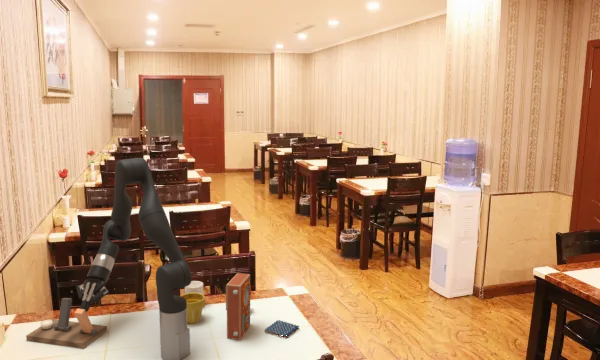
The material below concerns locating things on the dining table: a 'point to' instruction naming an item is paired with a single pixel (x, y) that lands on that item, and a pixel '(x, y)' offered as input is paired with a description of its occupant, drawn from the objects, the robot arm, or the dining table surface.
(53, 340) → the switch board
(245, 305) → the control panel
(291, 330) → the woven mat
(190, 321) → the plant pot
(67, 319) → the long grey beam
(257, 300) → the dining table surface
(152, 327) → the dining table surface
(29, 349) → the dining table surface
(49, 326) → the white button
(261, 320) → the dining table surface
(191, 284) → the white cup
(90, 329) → the orange block
